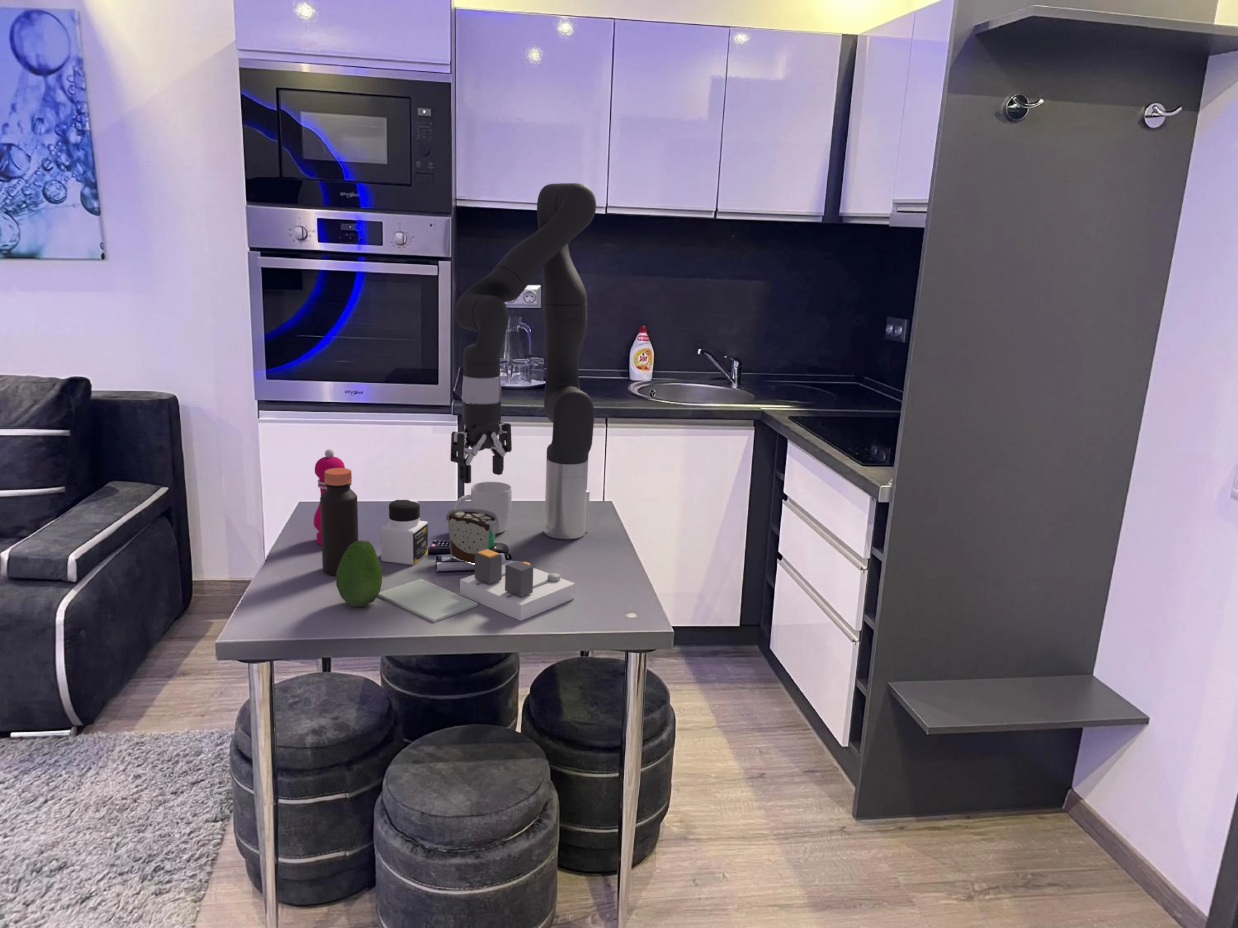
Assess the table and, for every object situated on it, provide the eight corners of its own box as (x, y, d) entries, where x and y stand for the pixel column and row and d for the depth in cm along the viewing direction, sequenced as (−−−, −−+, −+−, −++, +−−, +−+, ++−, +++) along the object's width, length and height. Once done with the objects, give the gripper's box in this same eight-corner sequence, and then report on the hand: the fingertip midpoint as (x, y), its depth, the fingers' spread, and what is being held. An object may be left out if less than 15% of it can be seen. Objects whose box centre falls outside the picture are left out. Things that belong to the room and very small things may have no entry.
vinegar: (344, 560, 179) (341, 464, 174) (366, 569, 176) (364, 471, 170) (315, 570, 174) (311, 471, 169) (337, 579, 170) (334, 478, 165)
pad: (421, 580, 171) (421, 578, 171) (477, 605, 162) (477, 603, 162) (377, 595, 164) (377, 593, 164) (434, 622, 154) (434, 619, 154)
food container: (511, 562, 183) (512, 515, 181) (491, 571, 178) (492, 523, 175) (465, 548, 189) (466, 503, 187) (445, 556, 184) (445, 510, 182)
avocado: (390, 599, 163) (389, 536, 160) (369, 616, 155) (367, 551, 152) (350, 593, 164) (348, 531, 161) (327, 609, 157) (325, 545, 154)
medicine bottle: (414, 565, 179) (413, 508, 176) (380, 561, 180) (379, 504, 177) (428, 553, 185) (428, 498, 182) (396, 549, 187) (395, 494, 184)
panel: (514, 574, 177) (514, 556, 176) (574, 598, 167) (575, 579, 166) (459, 594, 166) (460, 575, 165) (520, 620, 156) (521, 600, 155)
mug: (508, 522, 207) (509, 481, 204) (513, 535, 199) (514, 492, 196) (452, 524, 204) (452, 482, 202) (455, 537, 196) (455, 493, 193)
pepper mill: (318, 534, 193) (315, 444, 188) (353, 535, 194) (350, 445, 188) (310, 546, 186) (306, 453, 181) (346, 547, 187) (343, 454, 182)
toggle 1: (486, 574, 168) (487, 548, 166) (501, 580, 165) (502, 553, 164) (474, 578, 165) (474, 551, 164) (489, 584, 163) (489, 557, 162)
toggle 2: (516, 586, 163) (517, 560, 162) (532, 592, 160) (533, 566, 159) (504, 590, 161) (505, 564, 159) (520, 597, 158) (521, 570, 157)
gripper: (494, 391, 182) (494, 468, 186) (440, 400, 171) (441, 481, 176) (521, 396, 178) (520, 475, 182) (467, 406, 167) (468, 489, 171)
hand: (481, 478), depth 179 cm, fingers open, 8 cm apart
